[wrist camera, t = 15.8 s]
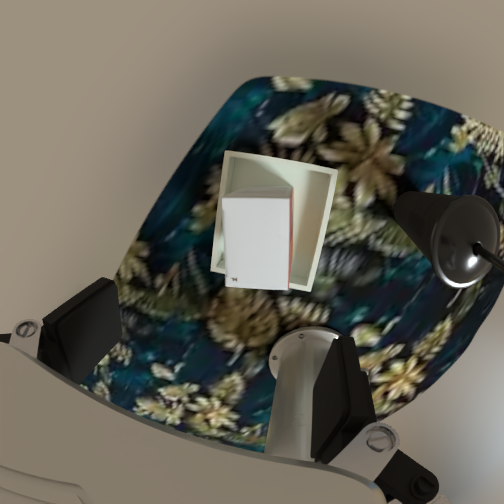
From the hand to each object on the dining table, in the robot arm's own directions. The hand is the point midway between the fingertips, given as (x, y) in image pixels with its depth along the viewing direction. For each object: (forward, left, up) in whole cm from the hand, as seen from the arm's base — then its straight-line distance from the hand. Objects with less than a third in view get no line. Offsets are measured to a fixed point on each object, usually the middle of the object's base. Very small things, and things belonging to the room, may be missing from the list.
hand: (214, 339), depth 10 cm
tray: (0, 0, -23) cm, 23 cm away
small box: (0, 0, -23) cm, 23 cm away
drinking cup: (-16, -5, -23) cm, 29 cm away
